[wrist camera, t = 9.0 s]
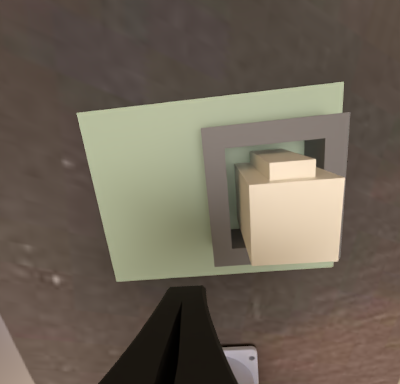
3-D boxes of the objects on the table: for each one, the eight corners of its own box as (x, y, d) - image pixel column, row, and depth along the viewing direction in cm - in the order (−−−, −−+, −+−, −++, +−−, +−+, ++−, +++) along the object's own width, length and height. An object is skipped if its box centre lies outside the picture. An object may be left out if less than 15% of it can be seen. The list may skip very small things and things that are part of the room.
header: (327, 260, 18) (355, 292, 15) (120, 275, 19) (101, 307, 16) (336, 84, 15) (375, 71, 11) (82, 113, 16) (48, 110, 12)
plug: (293, 214, 17) (338, 261, 11) (236, 218, 17) (251, 266, 11) (294, 146, 15) (346, 158, 9) (233, 151, 16) (248, 166, 10)
